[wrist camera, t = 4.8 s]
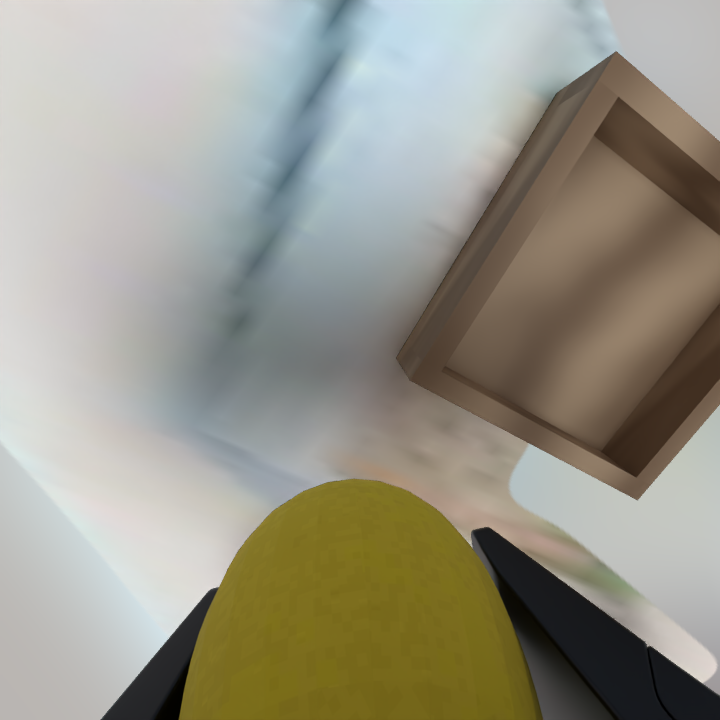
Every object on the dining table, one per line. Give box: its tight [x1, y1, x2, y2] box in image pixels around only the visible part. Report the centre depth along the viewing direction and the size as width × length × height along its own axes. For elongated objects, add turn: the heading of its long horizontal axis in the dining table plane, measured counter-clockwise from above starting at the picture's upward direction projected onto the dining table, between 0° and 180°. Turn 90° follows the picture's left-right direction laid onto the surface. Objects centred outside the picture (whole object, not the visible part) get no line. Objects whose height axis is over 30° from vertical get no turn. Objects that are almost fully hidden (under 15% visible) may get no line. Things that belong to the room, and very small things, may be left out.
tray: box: [396, 51, 720, 500], centre depth 17 cm, size 14×14×4 cm
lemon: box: [179, 479, 543, 720], centre depth 6 cm, size 6×6×8 cm
